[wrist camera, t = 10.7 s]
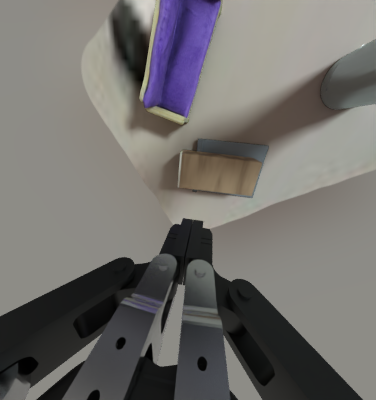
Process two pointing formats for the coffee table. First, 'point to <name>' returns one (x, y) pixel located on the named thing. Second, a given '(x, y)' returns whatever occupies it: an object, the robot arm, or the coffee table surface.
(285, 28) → the coffee table surface
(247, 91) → the coffee table surface
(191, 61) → the toy sofa
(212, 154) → the walnut block
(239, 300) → the robot arm
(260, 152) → the mat
